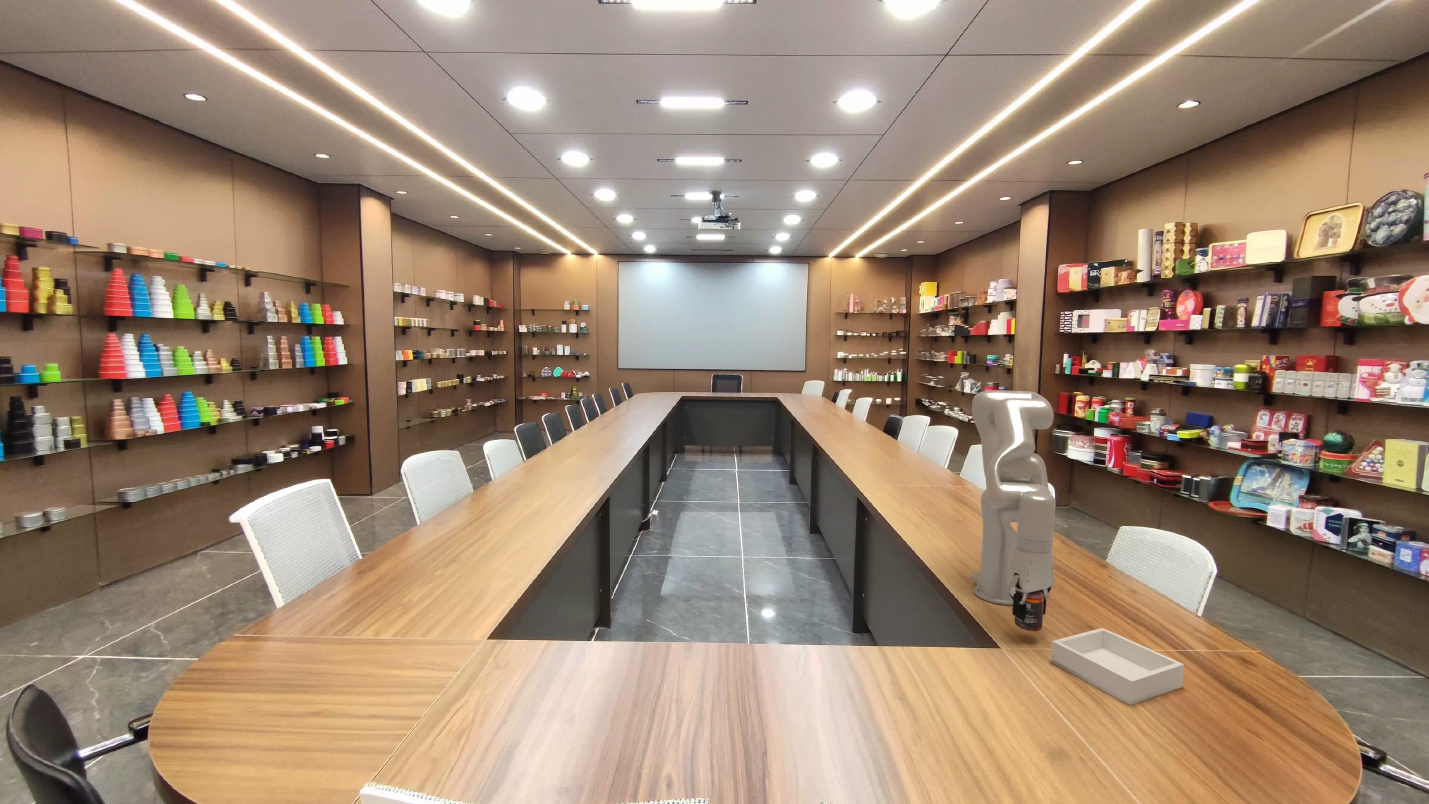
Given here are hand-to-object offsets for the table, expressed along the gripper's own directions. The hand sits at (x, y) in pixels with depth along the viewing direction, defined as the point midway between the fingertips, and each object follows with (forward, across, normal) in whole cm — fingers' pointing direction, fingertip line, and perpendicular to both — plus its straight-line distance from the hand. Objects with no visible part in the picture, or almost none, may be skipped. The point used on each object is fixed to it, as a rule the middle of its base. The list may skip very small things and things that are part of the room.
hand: (1028, 614), depth 138 cm
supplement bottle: (+3, 0, 0) cm, 3 cm away
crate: (+6, -4, +18) cm, 19 cm away
